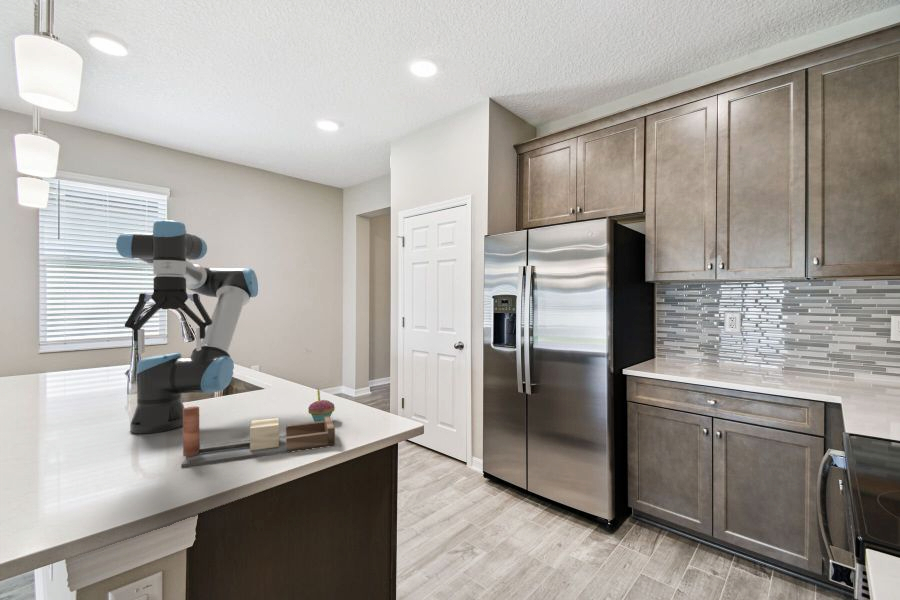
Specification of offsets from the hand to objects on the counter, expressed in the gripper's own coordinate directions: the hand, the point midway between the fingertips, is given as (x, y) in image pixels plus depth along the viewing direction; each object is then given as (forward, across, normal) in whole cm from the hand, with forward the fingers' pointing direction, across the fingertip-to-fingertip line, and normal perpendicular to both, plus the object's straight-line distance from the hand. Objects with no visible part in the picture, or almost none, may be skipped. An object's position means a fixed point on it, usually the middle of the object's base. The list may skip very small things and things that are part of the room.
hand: (170, 351), depth 112 cm
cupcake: (+27, +41, +6) cm, 49 cm away
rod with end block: (+26, +17, -12) cm, 33 cm away
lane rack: (+27, +24, -12) cm, 38 cm away
